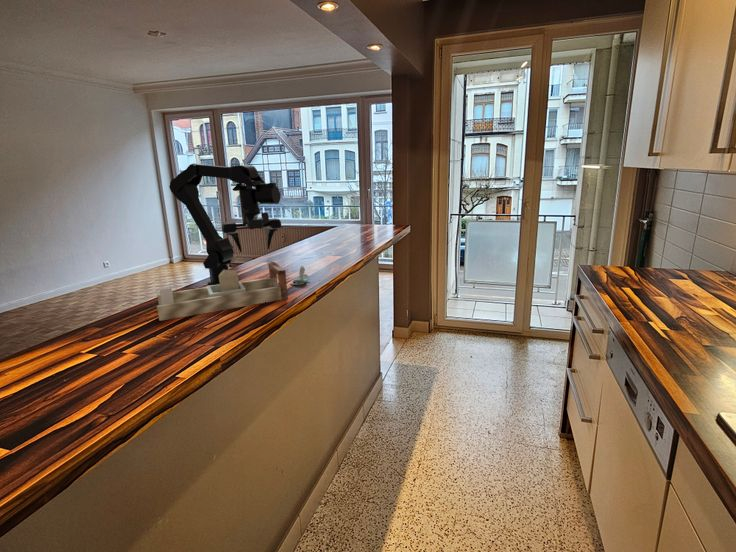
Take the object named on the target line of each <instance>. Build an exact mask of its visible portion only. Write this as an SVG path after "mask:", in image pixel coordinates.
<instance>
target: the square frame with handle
mask: <svg viewBox="0 0 736 552" xmlns="http://www.w3.org/2000/svg"><path fill="white" fill-rule="evenodd" d="M241 282H242V281H240V280H239V287H240V289H235V290H229V291H223V292H221V290H220V284H218V285H212V284H210V285H206V286H205V287H207V294H208V298H209V297H215V296H221V295H227V294H234V293H240V292H246V289H245V287H244V286H243V285H242V283H241ZM172 292H173V289H172V285H169V286H162V287H159V294H160V295H161V301H162V305H165V304H171V303H174V300H173V294H172Z"/></svg>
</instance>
